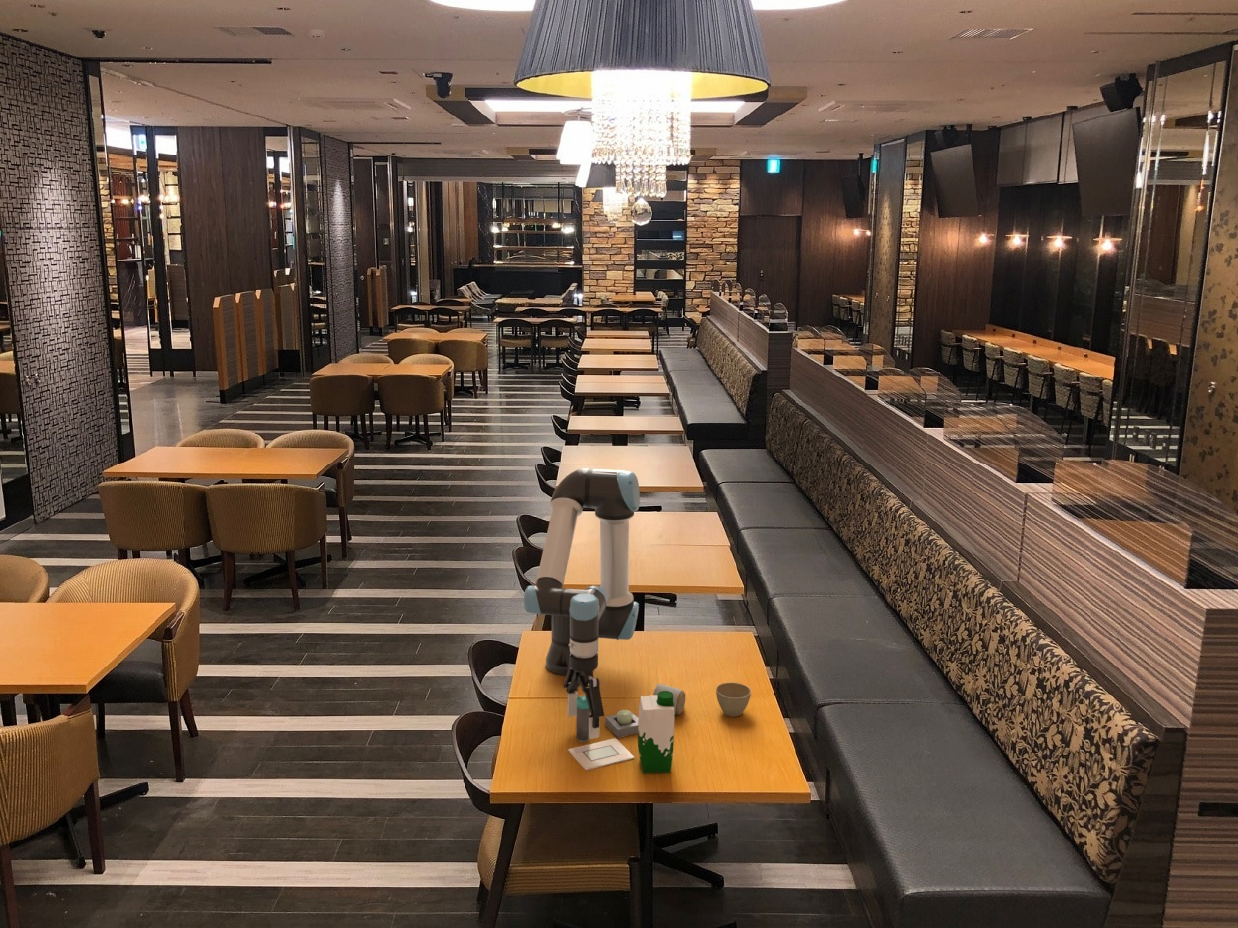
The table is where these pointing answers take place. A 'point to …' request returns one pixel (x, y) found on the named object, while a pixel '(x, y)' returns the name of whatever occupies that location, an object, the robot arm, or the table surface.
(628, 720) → the button cap
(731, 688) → the flower pot
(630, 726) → the button housing
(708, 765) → the table surface
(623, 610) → the robot arm
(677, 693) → the ceramic mug
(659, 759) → the milk carton
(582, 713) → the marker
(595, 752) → the sheet
